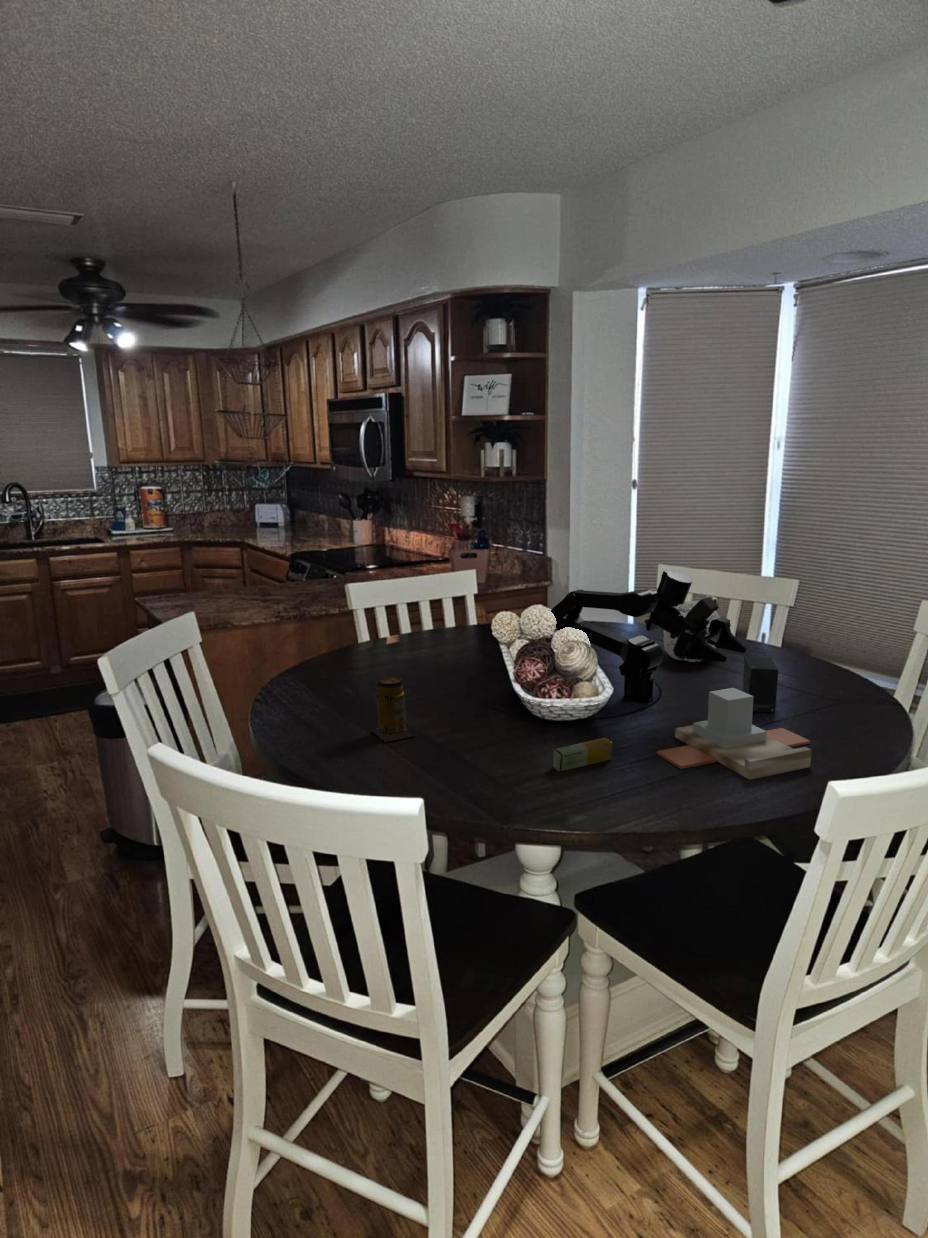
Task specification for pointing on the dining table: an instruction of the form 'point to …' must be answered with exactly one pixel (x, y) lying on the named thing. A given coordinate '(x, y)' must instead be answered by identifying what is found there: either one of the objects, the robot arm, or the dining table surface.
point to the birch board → (750, 755)
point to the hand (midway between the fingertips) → (735, 655)
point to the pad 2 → (787, 737)
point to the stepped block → (730, 720)
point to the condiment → (391, 706)
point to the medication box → (582, 754)
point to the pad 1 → (686, 756)
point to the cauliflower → (670, 642)
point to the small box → (761, 682)
